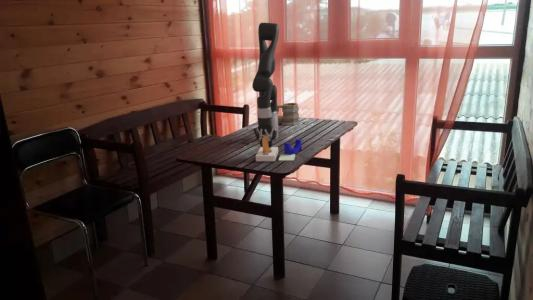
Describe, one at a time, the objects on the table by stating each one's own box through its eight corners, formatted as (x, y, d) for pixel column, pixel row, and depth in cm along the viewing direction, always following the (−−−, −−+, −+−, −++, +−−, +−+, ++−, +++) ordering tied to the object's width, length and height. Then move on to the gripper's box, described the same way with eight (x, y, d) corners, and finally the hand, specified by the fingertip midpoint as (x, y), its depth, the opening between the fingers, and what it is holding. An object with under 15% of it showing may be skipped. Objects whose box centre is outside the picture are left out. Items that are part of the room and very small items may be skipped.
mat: (280, 155, 240) (280, 154, 240) (295, 155, 239) (295, 154, 239) (278, 161, 231) (278, 160, 231) (293, 161, 229) (293, 159, 229)
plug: (265, 153, 242) (264, 136, 239) (272, 154, 240) (271, 136, 237) (261, 156, 238) (260, 138, 236) (268, 156, 236) (267, 138, 234)
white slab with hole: (260, 152, 248) (260, 147, 247) (278, 152, 246) (278, 146, 245) (255, 161, 233) (255, 155, 232) (274, 161, 231) (274, 155, 230)
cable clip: (291, 154, 238) (290, 144, 236) (284, 153, 241) (284, 143, 239) (303, 150, 247) (303, 139, 245) (297, 149, 249) (297, 139, 248)
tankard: (300, 121, 317) (299, 100, 312) (299, 125, 305) (298, 104, 300) (272, 122, 319) (271, 101, 315) (271, 126, 307) (269, 105, 303)
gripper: (279, 115, 233) (281, 146, 238) (256, 113, 239) (258, 144, 244) (273, 118, 226) (274, 150, 231) (249, 116, 233) (251, 147, 238)
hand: (266, 146), depth 238 cm, fingers closed on plug, 4 cm apart
